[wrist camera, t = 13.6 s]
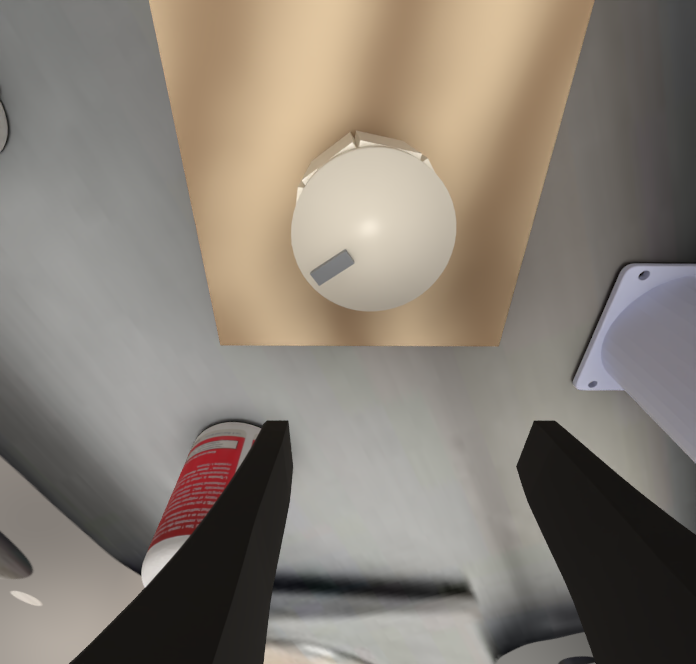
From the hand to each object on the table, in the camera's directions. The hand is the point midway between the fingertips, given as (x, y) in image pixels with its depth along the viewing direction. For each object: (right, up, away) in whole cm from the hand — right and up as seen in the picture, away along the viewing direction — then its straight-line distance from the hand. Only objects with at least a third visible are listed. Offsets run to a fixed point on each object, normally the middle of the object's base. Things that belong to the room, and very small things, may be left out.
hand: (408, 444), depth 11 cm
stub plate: (-1, +9, +6) cm, 11 cm away
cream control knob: (-1, +9, +5) cm, 10 cm away
